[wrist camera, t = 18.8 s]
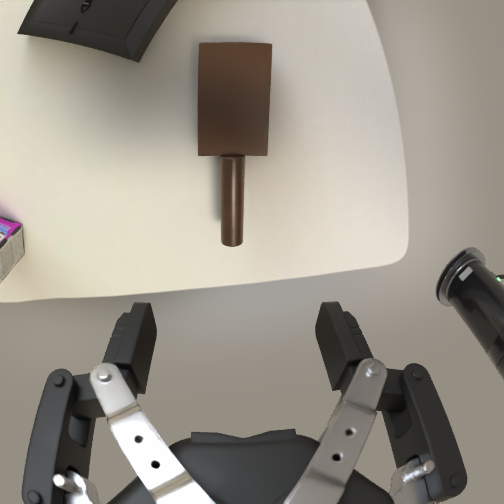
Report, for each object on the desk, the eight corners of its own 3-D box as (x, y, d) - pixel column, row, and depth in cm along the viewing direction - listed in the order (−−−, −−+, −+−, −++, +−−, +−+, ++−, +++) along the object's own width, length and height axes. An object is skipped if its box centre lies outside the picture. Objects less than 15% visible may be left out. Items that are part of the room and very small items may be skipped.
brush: (202, 49, 19) (197, 40, 16) (267, 49, 19) (274, 41, 16) (204, 227, 28) (200, 247, 25) (259, 226, 29) (263, 246, 25)
